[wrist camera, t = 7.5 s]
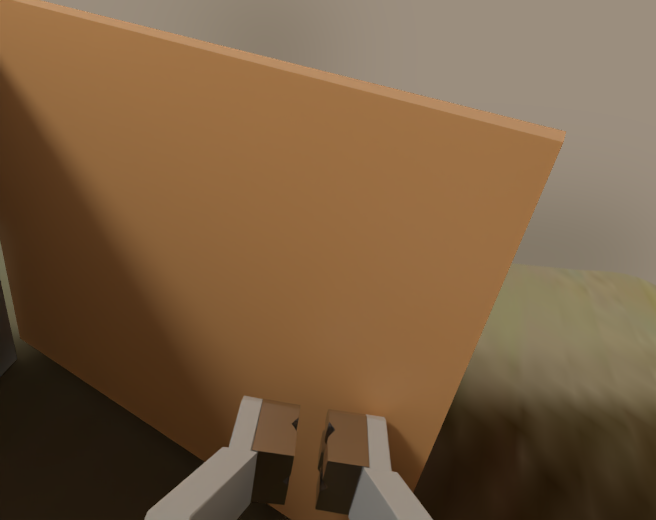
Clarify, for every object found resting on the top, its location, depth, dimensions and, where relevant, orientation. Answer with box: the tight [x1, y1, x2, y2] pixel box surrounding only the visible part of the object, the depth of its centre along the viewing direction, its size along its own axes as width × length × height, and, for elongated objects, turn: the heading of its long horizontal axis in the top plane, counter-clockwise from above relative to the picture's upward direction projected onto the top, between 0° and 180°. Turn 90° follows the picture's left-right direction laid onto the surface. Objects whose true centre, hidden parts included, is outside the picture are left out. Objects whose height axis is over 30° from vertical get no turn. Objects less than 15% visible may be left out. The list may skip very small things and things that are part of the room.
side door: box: [0, 0, 566, 520], centre depth 15 cm, size 3×18×14 cm, turn 62°
